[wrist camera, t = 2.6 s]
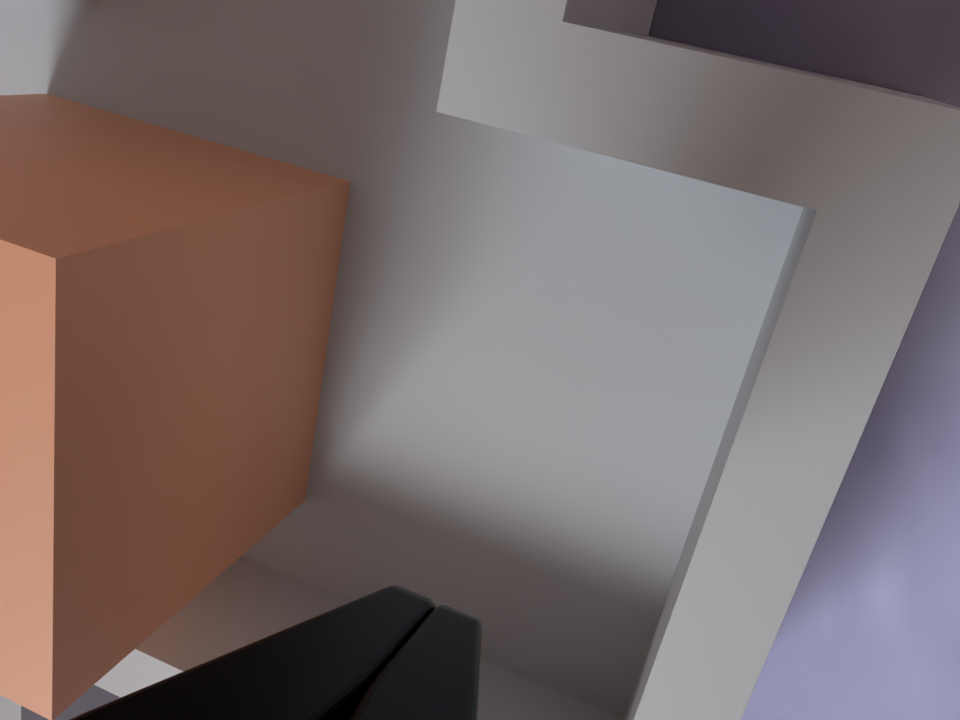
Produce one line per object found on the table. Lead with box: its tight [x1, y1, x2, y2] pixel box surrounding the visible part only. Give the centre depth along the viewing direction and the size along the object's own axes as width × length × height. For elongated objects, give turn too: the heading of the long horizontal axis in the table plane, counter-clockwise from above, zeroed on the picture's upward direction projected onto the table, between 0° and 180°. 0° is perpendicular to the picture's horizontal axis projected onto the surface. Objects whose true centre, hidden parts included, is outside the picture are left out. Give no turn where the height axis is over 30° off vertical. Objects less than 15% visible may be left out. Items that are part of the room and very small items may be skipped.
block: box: [0, 94, 350, 720], centre depth 11 cm, size 5×5×5 cm
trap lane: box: [0, 0, 960, 720], centre depth 13 cm, size 22×23×4 cm
